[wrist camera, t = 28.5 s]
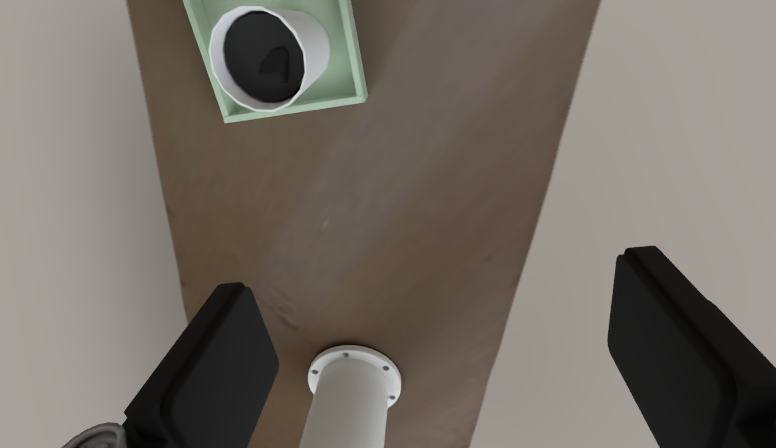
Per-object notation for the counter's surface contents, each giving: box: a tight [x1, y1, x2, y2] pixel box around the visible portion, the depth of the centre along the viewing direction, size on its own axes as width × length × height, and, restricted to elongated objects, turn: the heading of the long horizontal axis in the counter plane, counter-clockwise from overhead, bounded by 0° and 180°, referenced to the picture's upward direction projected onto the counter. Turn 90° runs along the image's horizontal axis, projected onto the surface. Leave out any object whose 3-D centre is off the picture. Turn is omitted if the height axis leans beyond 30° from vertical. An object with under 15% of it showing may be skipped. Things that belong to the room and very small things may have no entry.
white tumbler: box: [208, 6, 331, 112], centre depth 31 cm, size 7×7×10 cm
